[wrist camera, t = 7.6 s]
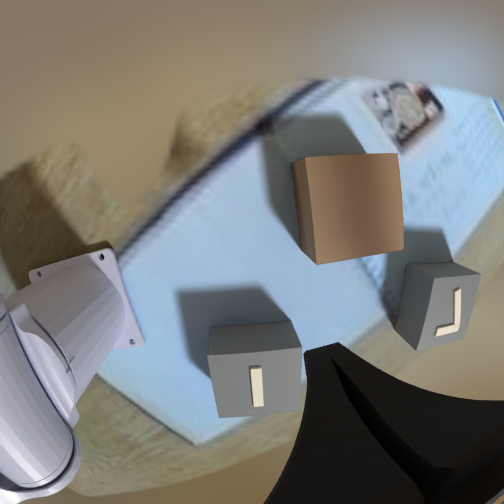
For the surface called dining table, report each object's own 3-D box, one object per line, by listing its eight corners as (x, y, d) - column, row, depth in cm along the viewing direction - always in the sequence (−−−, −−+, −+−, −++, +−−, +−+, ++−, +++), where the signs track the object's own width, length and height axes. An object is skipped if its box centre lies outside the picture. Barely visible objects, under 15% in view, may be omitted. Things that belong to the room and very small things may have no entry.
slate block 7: (393, 328, 21) (417, 352, 17) (405, 263, 20) (435, 279, 16) (439, 320, 22) (465, 339, 18) (452, 261, 20) (482, 274, 16)
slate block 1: (220, 385, 22) (219, 419, 17) (211, 325, 20) (206, 357, 16) (290, 379, 22) (299, 412, 18) (290, 319, 20) (302, 348, 16)
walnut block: (300, 249, 19) (316, 264, 15) (290, 163, 18) (304, 157, 14) (375, 238, 19) (403, 249, 16) (368, 158, 18) (397, 153, 14)
